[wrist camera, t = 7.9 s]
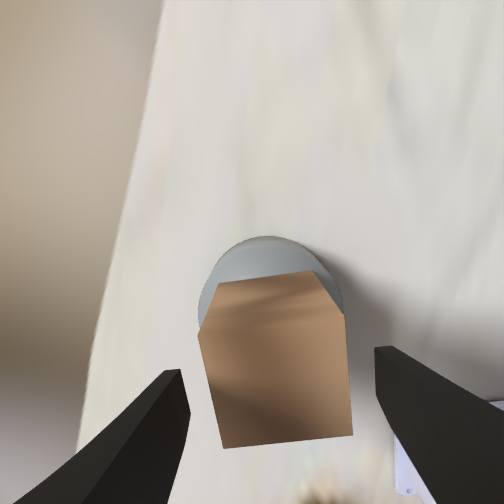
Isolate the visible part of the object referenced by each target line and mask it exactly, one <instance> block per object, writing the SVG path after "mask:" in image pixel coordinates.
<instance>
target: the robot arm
mask: <svg viewBox="0 0 504 504" xmlns="http://www.w3.org/2000/svg"><path fill="white" fill-rule="evenodd" d="M374 352H375V384H376V396H377V399H378V401H379V403H380V405H381V408H382V410H383V412H384V414H385V416H386V418H387V420H388V423H389V425H390V427H391V428H392V430H393V432H394V459H395V489H396V491H397V493H398V494H399V495H403V496H404V495H416V494H418V495H419V497H420V498H421V500H422V502H423V504H504V401H494V402H486V401H485V400H483V399H481V398H479V397H477V396H475V395H474V394H472V393H470V392H468V391H467V390H465V389H463V388H461V387H460V386H458V385H456V384H454V383H453V382H451V381H449V380H448V379H446V378H444V377H443V376H441V375H439V374H438V373H436V372H434V371H433V370H431V369H429V368H428V367H426V366H424V365H423V364H421V363H420V362H418V361H416V360H415V359H413V358H411V357H410V356H408V355H407V354H405V353H403V352H402V351H400V350H398V349H397V348H395V347H393V346H384V347H375V348H374ZM190 415H191V412H190V408H189V404H188V399H187V395H186V391H185V387H184V383H183V379H182V374H181V370H180V369H174V370H165V371H163V372H162V373H161V374H160V375H159V376H158V377H157V378H156V379H155V380H154V381H153V382H152V383H151V384H150V385H149V386H148V387H147V388H146V389H145V390H144V391H143V392H142V393H141V394H140V395H139V396H138V397H137V398H136V399H135V400H134V401H133V402H132V403H131V404H130V405H129V406H128V407H127V408H126V409H125V410H124V411H123V412H122V413H121V414H120V415H119V416H118V417H117V418H115V419H114V420H113V421H112V422H111V423H110V424H109V425H108V426H107V427H106V428H105V429H104V430H102V431H101V432H100V433H99V434H98V435H97V436H96V437H95V438H94V439H93V440H92V441H90V442H89V443H88V444H87V445H86V446H85V447H84V448H83V449H82V450H80V451H79V452H78V453H77V454H76V455H75V456H73V457H72V458H71V459H70V460H69V461H67V462H66V463H65V464H64V465H62V466H61V467H60V468H59V469H58V470H56V471H55V472H54V473H53V474H51V475H50V476H49V477H48V478H47V479H46V480H44V481H43V482H41V483H40V484H39V485H38V486H36V487H35V488H34V489H32V490H31V491H30V492H28V493H27V494H25V495H24V496H23V497H22V498H20V499H19V500H17V501H16V502H15V503H13V504H167V503H168V499H169V496H170V493H171V489H172V486H173V483H174V480H175V476H176V473H177V470H178V466H179V463H180V460H181V456H182V453H183V450H184V446H185V442H186V437H187V432H188V427H189V421H190Z"/></svg>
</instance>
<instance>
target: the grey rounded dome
mask: <svg viewBox="0 0 504 504" xmlns="http://www.w3.org/2000/svg"><path fill="white" fill-rule="evenodd" d="M310 270H312V271H313V272H314V274H315V275H316V277H317V278H318V280H319V281H320V282H321V284H322V285H323V287H324V288H325V290H326V291H327V292H328V294H329V295H330V297H331V298H332V300H333V301H334V303H335V304H336V305H337V307H338V308H339V310H340V311H341V313H342V314H343V304H342V298H341V295H340V291H339V289H338V287H337V284H336V282H335V281H334V279H333V278H332V276H331V275H330V274H329V272H328V271H327V270H326V269H325V268H324V267H323V265H322V264H321V263H320V262H319V261H318V260H317V259H316V258H315V256H314V255H313V254H312V253H311V252H310V251H308V250H307V249H306V248H305V247H303V246H302V245H300V244H298V243H296V242H294V241H292V240H289V239H286V238H282V237H276V236H261V237H255V238H251V239H248V240H245V241H243V242H241V243H239V244H237V245H235V246H234V247H232V248H231V249H229V250H228V251H227V252H226V253H225V254H224V255H223V256H222V257H221V258H220V259H219V261H218V262H217V264H216V265H215V267H214V269H213V271H212V273H211V274H210V276H209V278H208V280H207V282H206V284H205V286H204V288H203V290H202V293H201V296H200V299H199V306H198V320H199V326H200V328H201V326H202V323H203V321H204V318H205V316H206V313H207V311H208V308H209V306H210V303H211V301H212V298H213V296H214V293H215V291H216V288H217V286H218V283H224V282H231V281H238V280H245V279H252V278H260V277H267V276H274V275H281V274H288V273H295V272H303V271H310Z"/></svg>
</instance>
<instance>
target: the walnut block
mask: <svg viewBox="0 0 504 504" xmlns="http://www.w3.org/2000/svg"><path fill="white" fill-rule="evenodd" d="M198 340H199V344H200V349H201V353H202V357H203V362H204V366H205V371H206V375H207V379H208V384H209V388H210V392H211V397H212V401H213V405H214V410H215V414H216V419H217V423H218V427H219V432H220V436H221V440H222V445H223V449H227V448H237V447H246V446H256V445H265V444H275V443H284V442H294V441H303V440H313V439H322V438H332V437H341V436H351V435H353V429H352V415H351V401H350V388H349V374H348V360H347V346H346V333H345V319H344V315H343V314H342V313H341V311H340V310H339V308H338V307H337V305H336V304H335V303H334V301H333V300H332V298H331V297H330V295H329V294H328V292H327V291H326V290H325V288H324V287H323V285H322V284H321V282H320V281H319V280H318V278H317V277H316V275H315V274H314V272H313V271H312V270H310V271H303V272H295V273H288V274H281V275H274V276H267V277H260V278H252V279H245V280H238V281H231V282H224V283H218V286H217V288H216V291H215V293H214V296H213V298H212V301H211V303H210V306H209V308H208V311H207V313H206V316H205V318H204V321H203V323H202V326H201V328H200V331H199V333H198Z"/></svg>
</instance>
